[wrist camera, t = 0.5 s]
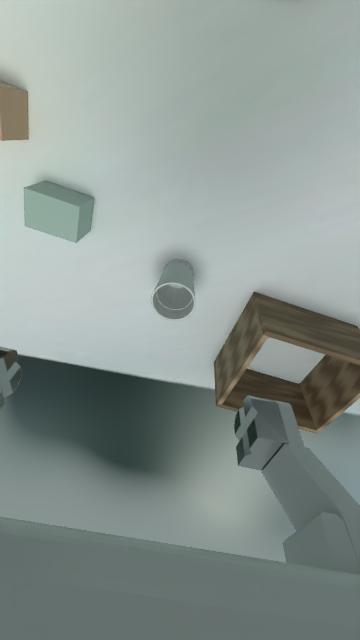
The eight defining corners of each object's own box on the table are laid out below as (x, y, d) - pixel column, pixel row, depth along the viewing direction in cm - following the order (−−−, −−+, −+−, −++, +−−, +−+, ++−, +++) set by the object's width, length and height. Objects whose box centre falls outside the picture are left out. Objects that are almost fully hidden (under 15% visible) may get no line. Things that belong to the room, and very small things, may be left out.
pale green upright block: (45, 180, 48) (23, 187, 43) (94, 198, 50) (79, 206, 44) (45, 215, 52) (24, 226, 46) (90, 230, 53) (76, 243, 47)
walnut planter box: (254, 291, 58) (266, 330, 47) (356, 326, 62) (391, 370, 50) (214, 362, 71) (215, 405, 60) (300, 387, 75) (317, 433, 63)
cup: (166, 292, 60) (158, 323, 50) (155, 260, 56) (144, 287, 46) (200, 285, 58) (199, 316, 49) (192, 251, 54) (189, 278, 44)
